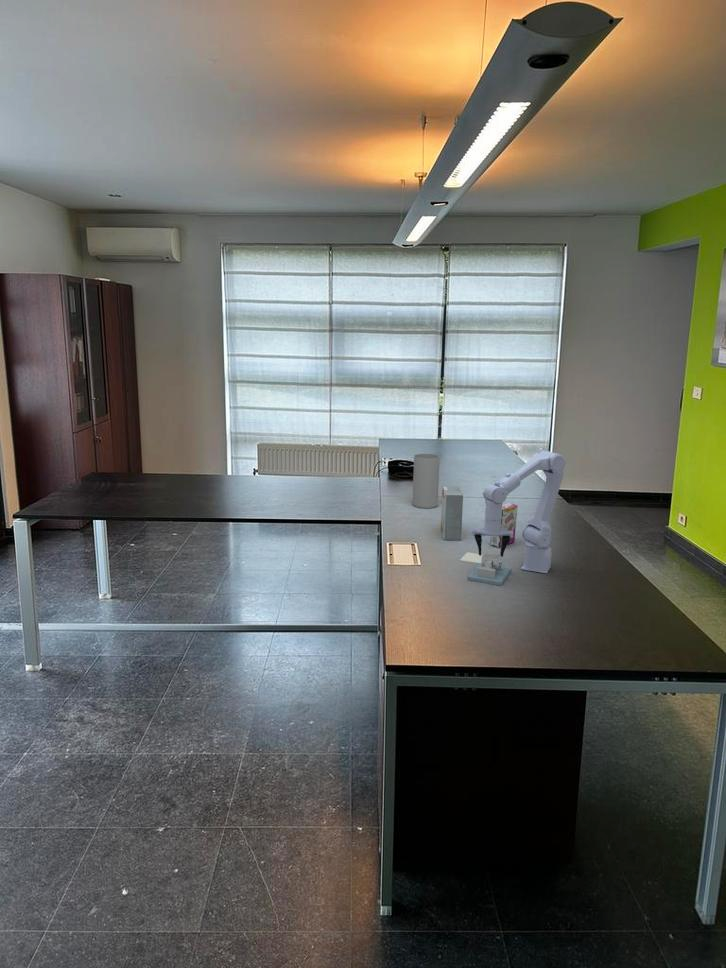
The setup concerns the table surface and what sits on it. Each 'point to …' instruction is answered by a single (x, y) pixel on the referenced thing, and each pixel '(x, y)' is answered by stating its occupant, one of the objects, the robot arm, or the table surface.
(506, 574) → the bench vise
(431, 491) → the cylinder vase
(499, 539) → the candy bar box
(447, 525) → the hard drive box
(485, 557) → the grey notched block
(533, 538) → the robot arm
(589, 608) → the table surface
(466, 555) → the cream mat
